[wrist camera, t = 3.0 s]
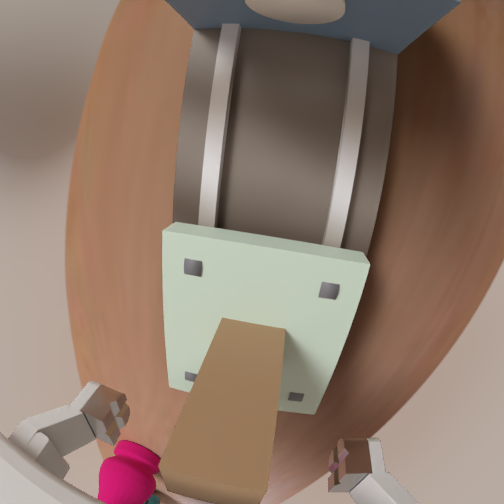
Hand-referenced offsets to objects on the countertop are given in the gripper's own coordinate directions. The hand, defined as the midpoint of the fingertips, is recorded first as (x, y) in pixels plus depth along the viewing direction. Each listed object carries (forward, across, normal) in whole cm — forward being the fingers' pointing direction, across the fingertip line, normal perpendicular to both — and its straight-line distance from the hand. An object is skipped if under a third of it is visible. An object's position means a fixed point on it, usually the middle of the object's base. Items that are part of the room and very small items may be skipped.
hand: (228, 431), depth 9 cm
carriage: (+7, 0, 0) cm, 7 cm away
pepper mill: (+10, +12, +27) cm, 31 cm away
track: (+9, 0, -5) cm, 10 cm away
